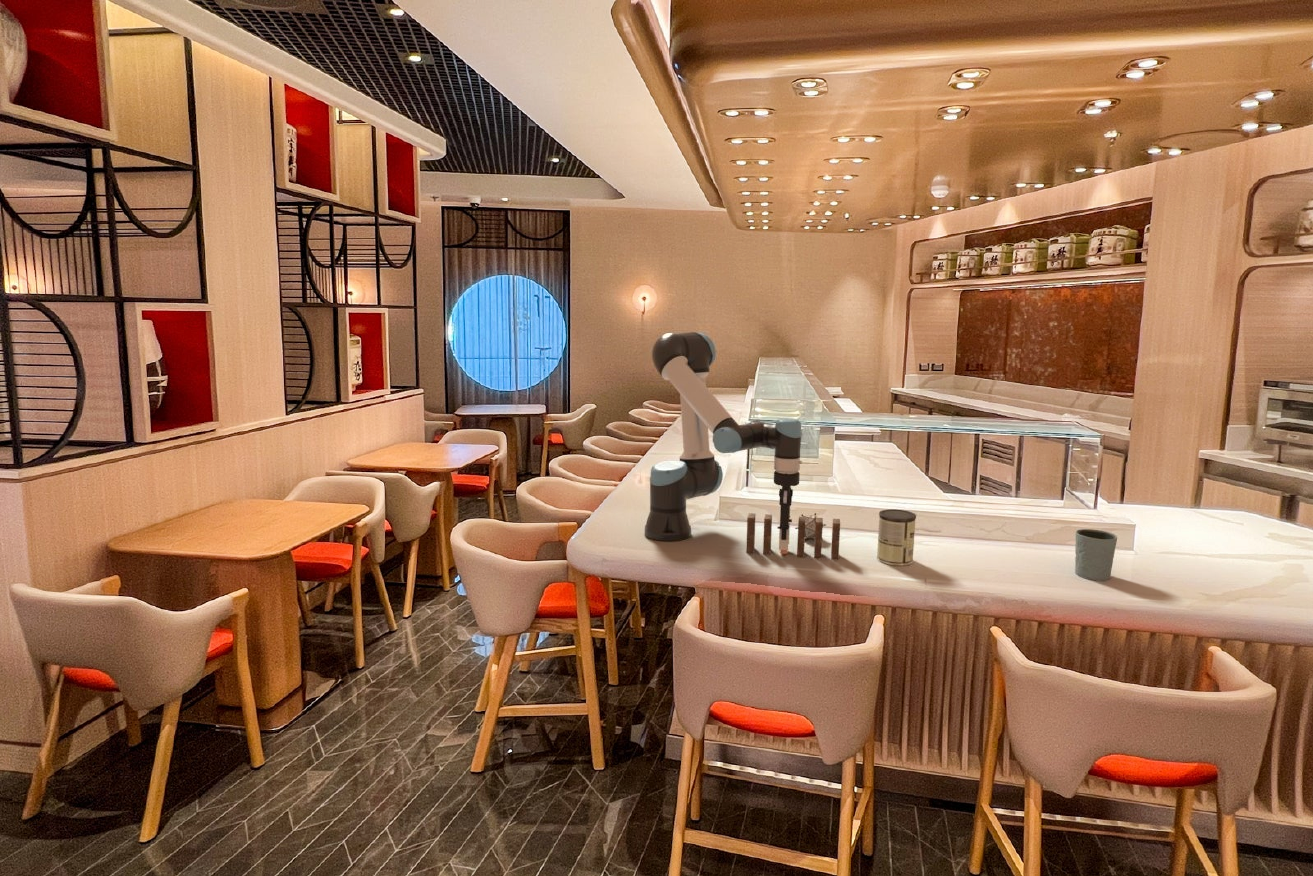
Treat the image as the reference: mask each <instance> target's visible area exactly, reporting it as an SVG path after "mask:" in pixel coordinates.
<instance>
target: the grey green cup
mask: <svg viewBox="0 0 1313 876" xmlns="http://www.w3.org/2000/svg"><path fill="white" fill-rule="evenodd" d="M1117 542H1118V536H1117V535H1116V534H1115V533H1112V532H1109V531H1106V530H1098V529H1090V528H1089V529H1088V528H1083V529H1082V528H1081V529H1078V530H1075V548H1074V549H1075V558H1074V559H1075V564H1074V565H1075V566H1074V567H1075V569H1074V573H1075V575H1077V576H1078V577H1079V578H1083V579H1086V580H1091V581H1098V582H1099V581H1100V582H1104V581H1105V582H1106V581H1109V580H1110V579H1111V576H1112V569H1113V563H1114V558H1115V551H1116V546H1117Z"/></svg>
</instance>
